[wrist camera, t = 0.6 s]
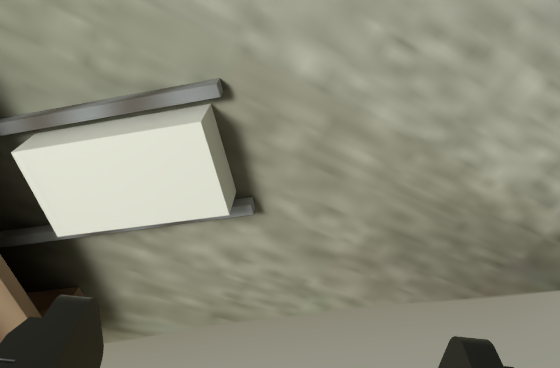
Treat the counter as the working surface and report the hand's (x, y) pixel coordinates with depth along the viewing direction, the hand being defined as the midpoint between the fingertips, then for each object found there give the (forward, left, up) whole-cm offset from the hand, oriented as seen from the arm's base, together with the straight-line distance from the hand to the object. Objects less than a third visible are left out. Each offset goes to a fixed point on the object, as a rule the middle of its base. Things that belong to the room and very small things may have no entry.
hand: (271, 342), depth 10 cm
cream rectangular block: (+12, +4, -19) cm, 23 cm away
